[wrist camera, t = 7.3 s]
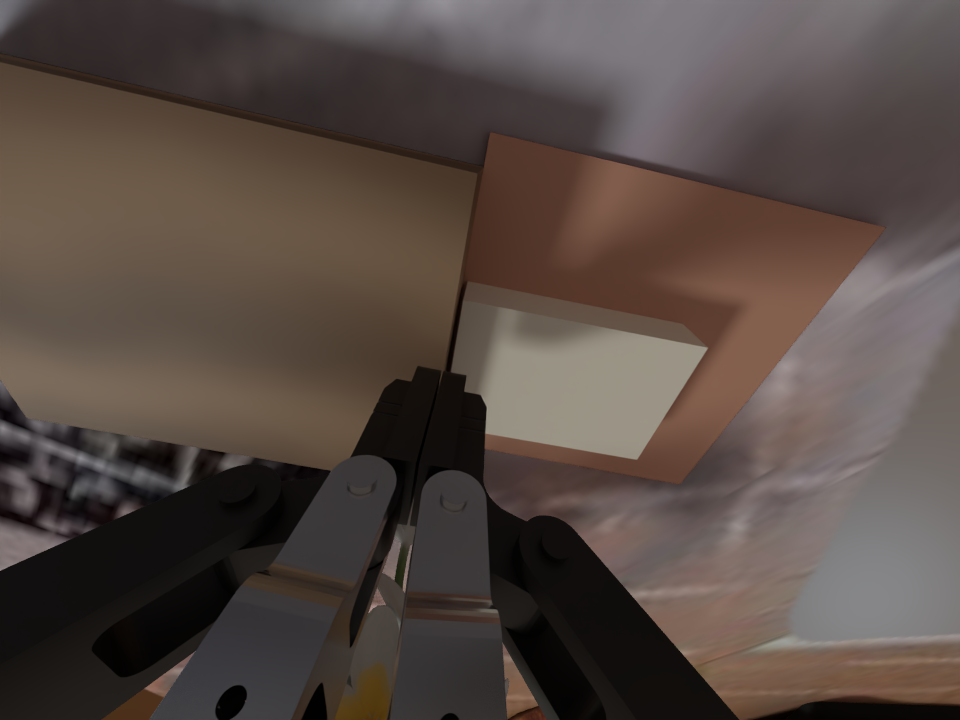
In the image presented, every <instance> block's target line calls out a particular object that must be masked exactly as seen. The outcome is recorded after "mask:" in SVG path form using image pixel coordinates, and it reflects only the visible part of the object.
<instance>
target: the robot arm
mask: <svg viewBox="0 0 960 720" xmlns="http://www.w3.org/2000/svg"><path fill="white" fill-rule="evenodd" d="M466 377H467V375H463V374H458V373H453V372H447V371H443V374H442V378H441V370H437V369H432V368H427V367H421V366H417V368H416V371H415V373H414V376H413V379H412V381H406V380H401V379H396V380H394V381H393V382H392V383H390V384H389V385H388V386H386V387H385V388H384V390H383V392H382V394H381V396H380V398H379V400H378V403H377V404H376V406H375V408H374V410H373V414H371V416H370V418H369V420H368V422H367V425H366V427H365V429H364V431H363V433H362V435H361V437H360V439H359V441H358V443H357V445H356V447H355V449H354V451H353V453H352V455H351V457H350V458H348V459H346V460H344V461H342V462H341V463H339V464H338V465H337V466H336V467H335V468H334V469H333V470H332V471H331V472H330V473H329V474H326V475H324V476H320V477H316V478H310V479H301V480H292V481H282V482H281V479H280V477H279V475H278V474H277V473H276V472H275V471H274V470H273V469H271V468H269V467H267V466H263V465H256V464H250V465H242V466H237V467H233V468H230V469H228V470H225V471H223V472H221V473H218V474H216V475H214V476H212V477H209V478H207V479H205V480H203V481H200V482H198V483H196V484H194V485H191V486H189V487H187V488H185V489H183V490H180V491H178V492H176V493H174V494H171V495H169V496H167V497H165V498H162V499H160V500H158V501H156V502H153V503H151V504H149V505H147V506H144V507H142V508H140V509H138V510H135V511H133V512H131V513H129V514H126V515H124V516H122V517H120V518H118V519H115V520H113V521H111V522H109V523H106V524H104V525H102V526H100V527H97V528H95V529H93V530H91V531H88V532H86V533H84V534H82V535H79V536H77V537H75V538H73V539H70V540H68V541H66V542H64V543H62V544H59V545H57V546H55V547H53V548H50V549H48V550H46V551H44V552H41V553H39V554H37V555H35V556H32V557H30V558H28V559H26V560H23V561H21V562H19V563H17V564H14V565H12V566H10V567H8V568H5V569H3V570H1V571H0V720H101V719H102V718H104V717H105V716H107V715H108V714H109V713H111V712H112V711H114V710H115V709H116V708H118V707H119V706H120V705H122V704H123V703H125V702H126V701H127V700H129V699H130V698H132V697H133V696H134V695H136V694H137V693H138V692H140V691H141V690H143V689H144V688H145V687H147V686H148V685H149V684H151V683H152V682H153V681H155V680H156V679H158V678H159V677H160V676H162V675H163V674H164V673H166V672H167V671H169V670H170V669H171V668H173V667H174V666H175V665H177V664H178V663H180V662H181V661H182V660H184V659H185V658H186V657H188V656H189V655H191V654H192V653H193V652H195V653H194V654H193V656H192V657H191V659H190V660H189V662H188V663H187V665H186V666H185V668H184V669H183V671H182V672H181V673H180V675H179V676H178V678H177V679H176V681H175V682H174V684H173V685H172V687H171V688H170V690H169V691H168V693H167V694H166V696H165V697H164V699H163V700H162V702H161V703H160V705H159V706H158V707H157V709H156V711H155V712H154V713H153V715H152V716H151V718H150V720H334V719H335V716H336V713H337V710H338V707H339V704H340V702H341V698H342V695H343V692H344V689H345V686H346V682H347V679H348V675H349V671H350V667H351V663H352V659H353V655H354V652H355V649H356V646H357V643H358V640H359V637H360V634H361V632H362V629H363V626H364V623H365V620H366V617H367V615H368V612H369V609H370V606H371V603H372V601H373V598H374V595H375V592H376V589H377V586H378V584H379V581H380V578H381V575H382V572H383V569H384V567H385V564H386V561H387V558H388V554H389V551H390V549H391V546H392V543H393V540H394V536H395V532H396V529H397V525H398V524H401V525H407V523H408V519H409V515H410V511H411V507H412V503H413V507H412V514H411V520H410V526H415V527H416V528H415V534H414V540H413V546H412V551H411V557H410V563H409V570H408V577H407V584H406V590H405V597H404V604H403V611H402V618H401V624H400V631H399V638H398V645H397V652H396V658H395V665H394V671H393V678H392V684H391V690H390V697H389V704H388V710H387V717H386V720H507V709H506V693H505V677H504V661H503V645H502V642H503V644H504V645H505V647H506V649H507V651H508V652H509V654H510V656H511V658H512V659H513V661H514V663H515V665H516V666H517V668H518V670H519V672H520V673H521V675H522V677H523V679H524V680H525V682H526V684H527V686H528V688H529V689H530V691H531V693H532V695H533V696H534V698H535V700H536V702H537V703H538V705H539V707H540V709H541V710H542V712H543V714H544V716H545V717H546V719H547V720H739V719H738V718H737V717H736V715H735V714H734V713H733V712H732V711H731V710H730V709H729V707H728V706H727V705H726V704H725V703H724V702H723V701H722V699H721V698H720V697H719V696H718V695H717V694H716V692H715V691H714V690H713V689H712V688H711V687H710V686H709V684H708V683H707V682H706V681H705V680H704V679H703V677H702V676H701V675H700V674H699V673H698V672H697V671H696V669H695V668H694V667H693V666H692V665H691V664H690V663H689V661H688V660H687V659H686V658H685V657H684V656H683V654H682V653H681V652H680V651H679V650H678V649H677V648H676V646H675V645H674V644H673V643H672V642H671V641H670V639H669V638H668V637H667V636H666V635H665V634H664V633H663V631H662V630H661V629H660V628H659V627H658V626H657V624H656V623H655V622H654V621H653V620H652V619H651V618H650V616H649V615H648V614H647V613H646V612H645V611H644V610H643V608H642V607H641V606H640V605H639V604H638V603H637V601H636V600H635V599H634V598H633V597H632V596H631V595H630V593H629V592H628V591H627V590H626V589H625V588H624V586H623V585H622V584H621V583H620V582H619V581H618V580H617V578H616V577H615V576H614V575H613V574H612V573H611V572H610V570H609V569H608V568H607V567H606V566H605V565H604V563H603V562H602V561H601V560H600V559H599V558H598V557H597V555H596V554H595V553H594V552H593V551H592V550H591V548H590V547H589V546H588V545H587V544H586V543H585V542H584V540H583V539H582V538H581V537H580V536H579V535H578V533H577V532H576V531H575V530H574V529H573V528H572V527H571V526H569V525H568V524H567V523H565V522H564V521H562V520H560V519H558V518H555V517H552V516H537V517H534V518H532V519H530V520H529V521H527V522H526V521H524V520H522V519H520V518H518V517H516V516H514V515H512V514H510V513H508V512H506V511H505V510H503V509H501V508H500V507H499V506H498V505H496V504H495V503H494V502H493V500H492V499H491V498H490V497H489V495H488V493H487V491H486V489H485V486H484V482H483V471H484V452H485V432H486V413H487V407H486V405H485V403H484V401H483V399H482V397H481V395H479V394H474V393H469V392H464V390H465V383H466ZM440 378H441V382H440ZM439 383H440V385H439ZM413 499H414V501H413Z"/></svg>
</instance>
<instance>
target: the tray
mask: <svg viewBox="0 0 960 720" xmlns="http://www.w3.org/2000/svg"><path fill="white" fill-rule="evenodd" d="M784 720H960V707H956V706H926V705H896V704H867V703H837V702H811V703H807V704H804V705H802V706H801V707H799V708H798V709H797V710H796V711H794V712H793V713H792V714H791V715H789V716H788V717H787V718H786V719H784Z"/></svg>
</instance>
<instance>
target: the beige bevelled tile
mask: <svg viewBox="0 0 960 720" xmlns="http://www.w3.org/2000/svg"><path fill="white" fill-rule="evenodd" d="M707 349H708V347H707V346H706V345H705V344H704V343H702V342H701V341H700V340H699V339H698V338H697V337H696V336H695V335H694V334H693V333H692V332H691V331H690V330H689V329H688V328H687V327H686V326H685V325H683V324H681V323H676V322H671V321H666V320H661V319H656V318H651V317H646V316H641V315H636V314H631V313H626V312H621V311H616V310H611V309H606V308H601V307H596V306H590V305H585V304H580V303H575V302H570V301H565V300H560V299H555V298H550V297H545V296H540V295H535V294H530V293H525V292H520V291H515V290H510V289H505V288H500V287H495V286H490V285H485V284H480V283H475V282H469V281H468V282H467V286H466V291H465V295H464V299H463V304H462V310H461V316H460V322H459V327H458V333H457V339H456V345H455V351H454V357H453V363H452V368H451V372H453V373H458V374H463V375H467V377H466V383H465V390H464V392H469V393H474V394H479V395H481V397H482V399H483V401H484V403H485V405H486V407H487V413H486V432H485V433H486V434H491V435H497V436H503V437H509V438H514V439H520V440H526V441H532V442H537V443H543V444H549V445H555V446H560V447H566V448H572V449H578V450H584V451H589V452H595V453H601V454H607V455H612V456H618V457H624V458H630V459H635V460H637V459H638V457H639V456H640V454H641V453H642V451H643V450H644V448H645V446H646V445H647V443H648V442H649V440H650V439H651V437H652V435H653V434H654V432H655V431H656V429H657V428H658V426H659V424H660V423H661V421H662V420H663V418H664V417H665V415H666V413H667V412H668V410H669V409H670V407H671V406H672V404H673V402H674V401H675V399H676V398H677V396H678V395H679V393H680V391H681V390H682V388H683V387H684V385H685V383H686V382H687V380H688V379H689V377H690V376H691V374H692V372H693V371H694V369H695V368H696V366H697V365H698V363H699V361H700V360H701V358H702V357H703V355H704V354H705V352H706V350H707Z"/></svg>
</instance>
